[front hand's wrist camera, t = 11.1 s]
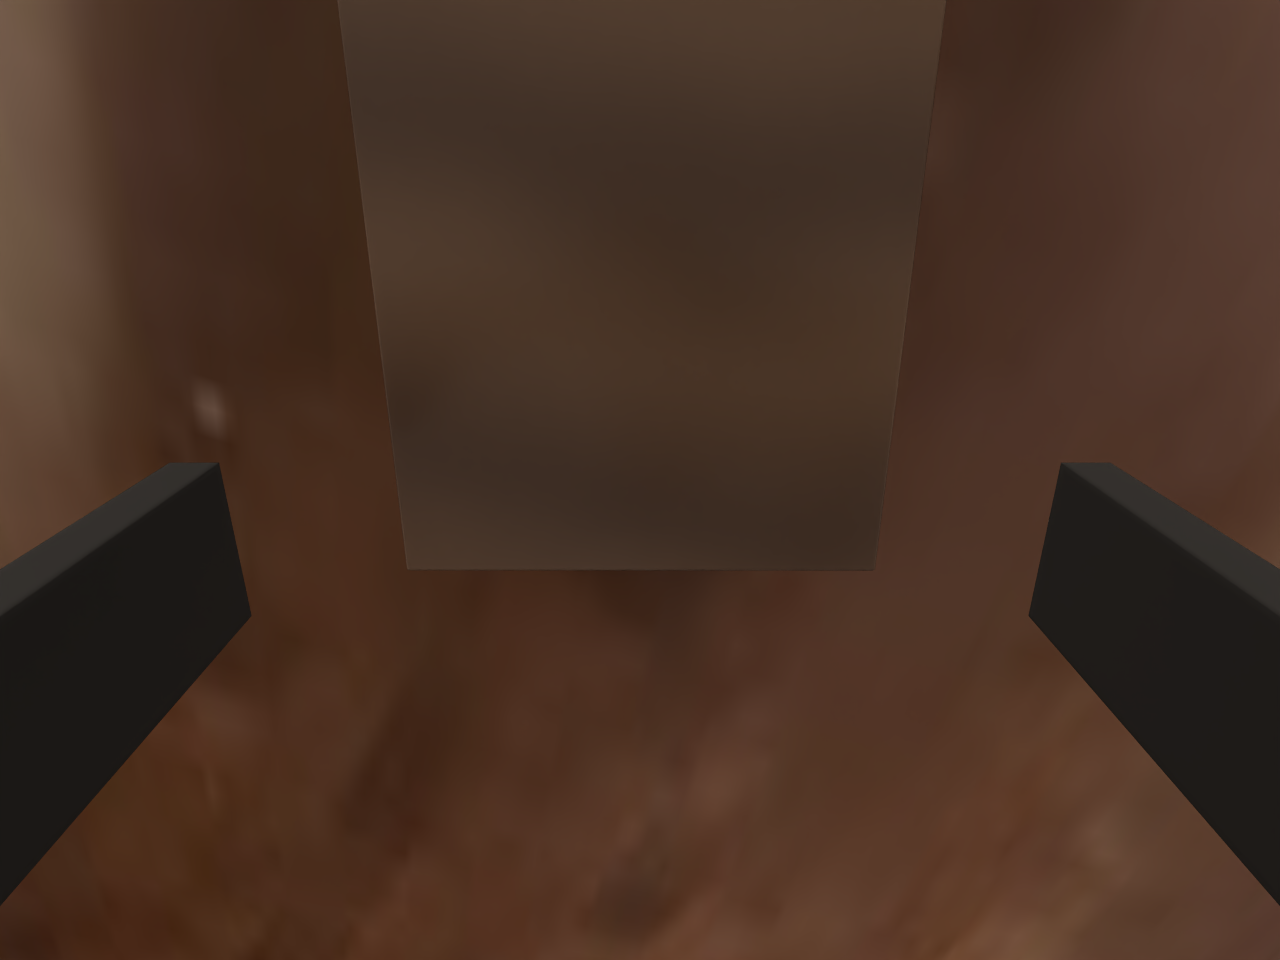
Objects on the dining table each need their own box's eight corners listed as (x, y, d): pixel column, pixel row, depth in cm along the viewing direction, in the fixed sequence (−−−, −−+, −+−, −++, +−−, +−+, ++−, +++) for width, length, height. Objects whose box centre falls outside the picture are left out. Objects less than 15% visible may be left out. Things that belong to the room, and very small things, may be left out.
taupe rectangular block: (432, -231, 21) (268, -546, 11) (850, -231, 21) (1016, -545, 11) (483, 437, 27) (406, 571, 18) (797, 437, 27) (875, 571, 18)
